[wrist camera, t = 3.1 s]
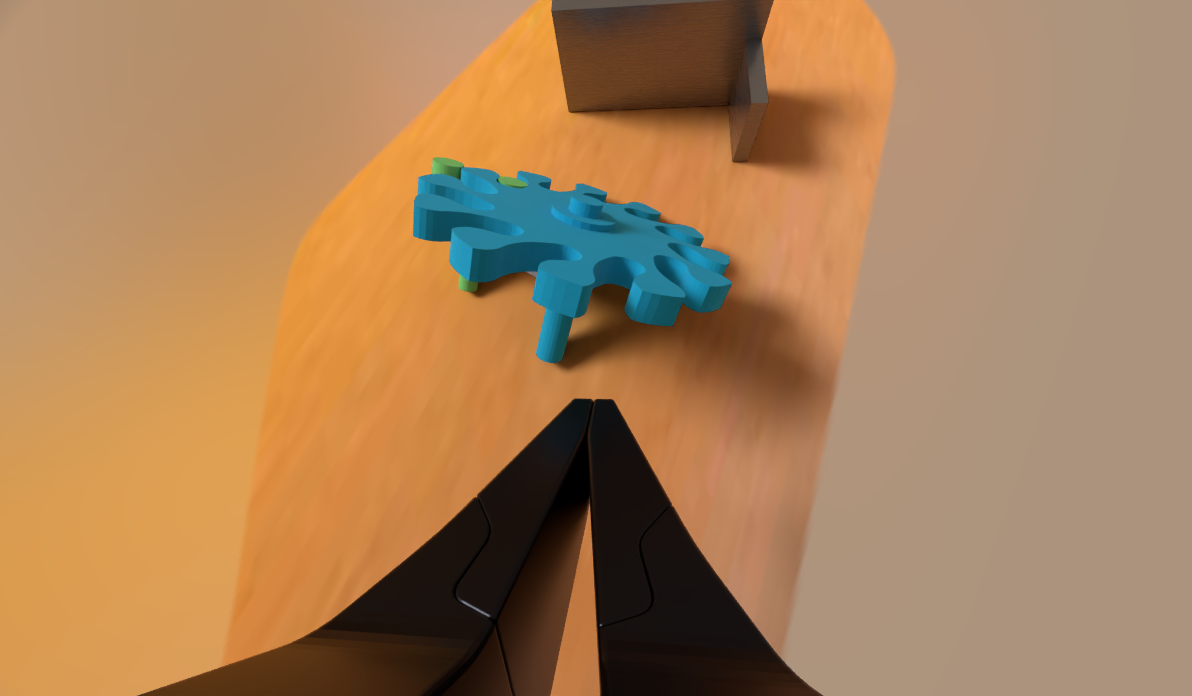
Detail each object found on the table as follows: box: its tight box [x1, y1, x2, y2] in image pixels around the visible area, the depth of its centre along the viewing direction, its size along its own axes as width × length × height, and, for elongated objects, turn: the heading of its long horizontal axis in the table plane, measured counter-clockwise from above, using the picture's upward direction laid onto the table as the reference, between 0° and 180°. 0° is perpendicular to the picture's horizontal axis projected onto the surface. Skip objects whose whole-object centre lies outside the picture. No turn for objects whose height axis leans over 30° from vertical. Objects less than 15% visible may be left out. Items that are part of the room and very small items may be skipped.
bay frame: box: [551, 0, 774, 161], centre depth 17 cm, size 4×8×4 cm, turn 88°
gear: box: [413, 157, 732, 363], centre depth 15 cm, size 11×6×10 cm
